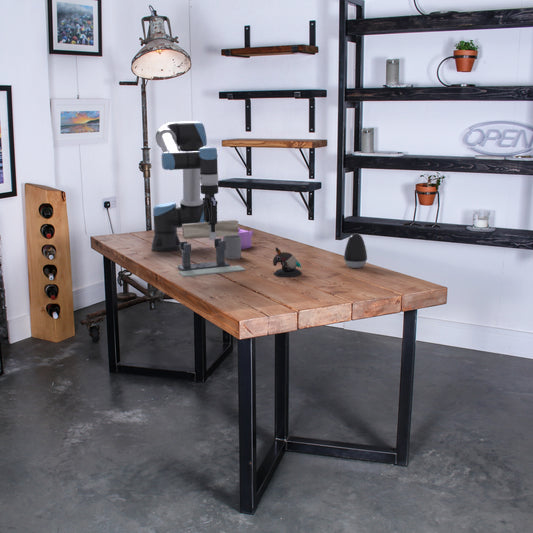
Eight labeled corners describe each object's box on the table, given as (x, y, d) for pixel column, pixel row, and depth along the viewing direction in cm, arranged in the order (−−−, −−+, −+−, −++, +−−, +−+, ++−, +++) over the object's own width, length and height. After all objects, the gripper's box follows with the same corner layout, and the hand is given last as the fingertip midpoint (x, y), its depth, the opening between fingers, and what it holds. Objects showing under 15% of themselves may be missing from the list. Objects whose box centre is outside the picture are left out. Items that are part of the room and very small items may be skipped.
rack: (177, 268, 288) (176, 241, 285) (224, 263, 296) (223, 237, 293) (182, 271, 281) (181, 245, 278) (229, 266, 289) (229, 240, 286)
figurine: (303, 276, 270) (303, 249, 268) (275, 278, 269) (274, 251, 266) (298, 270, 281) (297, 244, 278) (271, 272, 280) (270, 246, 277)
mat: (178, 272, 279) (178, 271, 279) (238, 266, 289) (238, 265, 289) (183, 276, 272) (183, 275, 272) (245, 270, 282) (245, 269, 282)
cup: (238, 259, 304) (238, 238, 302) (221, 258, 306) (221, 238, 303) (242, 255, 312) (242, 235, 310) (226, 255, 314) (225, 235, 311)
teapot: (248, 243, 341) (247, 224, 339) (258, 247, 333) (258, 227, 330) (218, 248, 331) (218, 228, 329) (229, 251, 323) (228, 231, 320)
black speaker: (368, 265, 289) (369, 231, 286) (364, 270, 280) (365, 236, 276) (346, 263, 293) (347, 230, 289) (341, 268, 283) (342, 234, 280)
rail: (182, 237, 274) (182, 224, 273) (235, 233, 283) (235, 220, 282) (185, 239, 271) (184, 225, 269) (238, 234, 280) (238, 221, 278)
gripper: (195, 183, 278) (197, 236, 283) (206, 186, 263) (208, 242, 268) (211, 182, 281) (213, 234, 286) (224, 185, 266) (225, 241, 271)
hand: (211, 238), depth 277 cm, fingers closed on rail, 4 cm apart
